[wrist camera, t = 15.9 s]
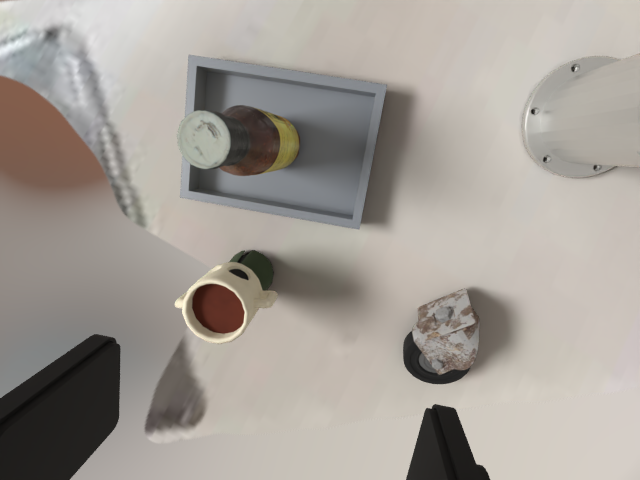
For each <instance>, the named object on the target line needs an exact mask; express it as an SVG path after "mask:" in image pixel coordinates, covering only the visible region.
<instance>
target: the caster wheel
mask: <svg viewBox="0 0 640 480" xmlns="http://www.w3.org/2000/svg"><path fill="white" fill-rule="evenodd" d="M418 320H419V322H417V323H416V324H415V325H414V326H413V329H412V331H411V332H410V333H409V334H408V335H407V337H406V338H405V341H404V346H403V357H404V364H405V367H406V368H407V370H408V371H409V372H410V373H411V374H412V375H413V376H414V377H416V378H417V379H419V380H421V381H424V382H427V383H432V384H447V383H451V382H455V381H457V380H459V379H461V378H462V377H463V376H464V375H465V374H467V372H468V371H469V369H470V367H471V365H472V364H473V362H474V361H475V358H476V355H477V351H478V345H479V328H480V321H479V317H478V315H477V314H476V312H475V311H474V309H473V308H472V306H471V304H470V300H469V297H468V293H467V289H465V288H464V289H462V290H460V291H457V292H455V293H452V294H450V295H447V296H445V297H442V298H440V299H438V300H435V301H433V302H430V303H428V304H425V305H423V306H421V307H419V308H418Z"/></svg>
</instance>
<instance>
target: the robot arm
mask: <svg viewBox="0 0 640 480" xmlns="http://www.w3.org/2000/svg"><path fill="white" fill-rule="evenodd" d="M571 68H573V71H571ZM531 110H533V111H534V113H533V114H531ZM522 136H523V140H524V144H525V147H526V149H527V151H528V153H529V155H530V156H531V157H532V159H533V160H534V161H535V162H536V163H537V164H538V165H539V166H540V167H542V168H543V169H544V170H546V171H549V172H551V173H553V174H556V175H560V176H563V177H572V178H577V177H588V176H593V175H597V174H600V173H602V172H605V171H607V170H609V169H611V168H613V167H614V166H631V167H640V53H639V54H637V55H634V56H631V57H628V58H625V59H622V60H619V59H615V58H611V57H607V56H591V57H585V58H581V59H578V60H575V61H572V62H569V63H567V64H565V65H563V66H561V67H559V68H558V69H556V70H554V71H553V72H551V73H550V74H549V75H548V76H547V77H546V78H544V79H543V80H542V81H541V82H540V83H539V85H538V86H537V87H536V89H535V90H534V91H533V93H532V95H531V96H530V98H529V100H528V102H527V105H526V107H525V110H524V113H523V120H522ZM544 157H545V161H543V158H544ZM594 166H595V167H594ZM593 167H594V169H593ZM119 387H120V345H119V344H117V343H116V340H115V339H114V338H112V337H107V336H103V335H98V334H94V335H92V336H90V337H89V338H88V339H86V340H84V341H83V342H82V343H80V344H79V345H77V346H76V347H74V348H73V349H71V350H70V351H68V352H67V353H66V354H65V355H63V356H61V357H60V358H58V359H57V360H55V361H54V362H52V363H51V364H50V365H48V366H47V367H45V368H44V369H42V370H41V371H39V372H38V373H36V374H35V375H34V376H32V377H31V378H29V379H28V380H26V381H25V382H23V383H22V384H21V385H19V386H18V387H16V388H15V389H13V390H12V391H10V392H9V393H7V394H6V395H4V396H3V397H2V398H0V480H70V479H71V477H72V476H73V475H74V474H75V473H76V472H77V471H78V469H79V468H80V467H81V466H82V465H83V464H84V463H85V462H86V460H87V459H88V458H89V457H90V456H91V455H92V454H93V453H94V451H95V450H96V449H97V448H98V447H99V446H100V444H102V442H103V441H104V440H105V439H106V438H107V436H109V434H110V433H111V432H112V431H113V430H114V428H115V427H116V424H117V422H118V419H119V389H120V388H119ZM406 480H490V478H489V475H488V473H487V471H486V469H485V468H484V467H483V466H481V465H477V464H476V463H475V460H474V457H473V454H472V452H471V449H470V446H469V444H468V441H467V438H466V436H465V433H464V431H463V428H462V425H461V423H460V420H459V417H458V415H457V412H456V410H455V409H454V408H451V407H446V406H441V405H436V404H435V405H433V407H432V409H430V408H426V410H425V413H424V417H423V420H422V424H421V428H420V431H419V435H418V438H417V442H416V446H415V449H414V453H413V457H412V460H411V464H410V468H409V471H408V475H407V479H406Z"/></svg>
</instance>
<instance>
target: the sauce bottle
mask: <svg viewBox="0 0 640 480" xmlns="http://www.w3.org/2000/svg"><path fill="white" fill-rule="evenodd" d="M177 139H178V146H179V149H180V152H181V153H182V155H183V157H184V158H185V159H186V160H187V161H188V162H189V163H190V164H191V165H193V166H195V167H197V168H200V169H217V168H220V169H221V170H222V171H224V172H227V173H230V174H233V175H237V176H250V175H258V174H263V173H267V172H271V171H276V170H280V169H283V168H285V167H287V166H288V165H290V164H291V163H292V162H293V161H294V160H295V158H297V156H298V154H299V149H300V136H299V134H298V131H297V130H296V129H295V127H294V126H293V125H292V124H291V123H290V121H288V120H287V119H285V118H283V117H281V116H278V115H275V114H272V113H270V112H266V111H263V110H261V109H257V108H254V107H250V106H245V105H236V106H232V107H229V108H228V109H226V110H225V111H223V112H222V113H219V112H216V111H211V110H197V111H194V112H192V113H190V114H188V115H187V116H186V117H185V118H184V119H183V120H182V122H181V124H180V127H179V130H178V135H177Z"/></svg>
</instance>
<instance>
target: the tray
mask: <svg viewBox="0 0 640 480" xmlns="http://www.w3.org/2000/svg"><path fill="white" fill-rule="evenodd" d="M386 88H387V85H385V84H379V83H372V82H366V81H359V80H352V79H346V78H339V77H333V76H326V75H319V74H313V73H306V72H300V71H293V70H287V69H280V68H273V67H267V66H260V65H254V64H247V63H240V62H234V61H227V60H221V59H214V58H207V57H201V56H194V55H189V56H188V73H187V89H186V106H185V117H186V116H187V115H188V114H190V113H192V112H194V111H197V110H211V111H216V112H219V113H222V112H223V111H225V110H226V109H228V108H229V107H232V106H236V105H245V106H250V107H254V108H257V109H261V110H263V111H266V112H270V113H272V114H275V115H278V116H281V117H283V118H285V119H287V120H288V121H290V123H291V124H292V125H293V126H294V127H295V129H296V130H297V131H298V134H299V136H300V149H299V154H298V156H297V158H295V160H294V161H293V162H292V163H291V164H290V165H288V166H287V167H285V168H283V169H280V170H276V171H271V172H267V173H263V174H258V175H250V176H237V175H233V174H230V173H227V172H224V171H222V170H221V169H220V168H217V169H200V168H197V167H195V166H193V165H191V164H190V163H189V162H188V161H187V160H186V159H185V158H184V157H183V156H182V172H181V189H180V198H185V199H191V200H196V201H202V202H207V203H213V204H219V205H224V206H230V207H235V208H241V209H247V210H252V211H258V212H263V213H269V214H275V215H280V216H286V217H291V218H297V219H303V220H308V221H314V222H320V223H325V224H331V225H336V226H342V227H348V228H353V229H359V228H360V223H361V218H362V213H363V208H364V202H365V197H366V192H367V187H368V181H369V176H370V171H371V166H372V161H373V155H374V150H375V145H376V140H377V134H378V129H379V124H380V119H381V114H382V108H383V103H384V98H385V93H386Z"/></svg>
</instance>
